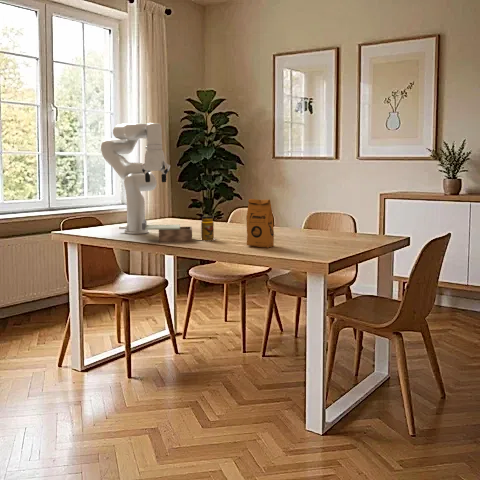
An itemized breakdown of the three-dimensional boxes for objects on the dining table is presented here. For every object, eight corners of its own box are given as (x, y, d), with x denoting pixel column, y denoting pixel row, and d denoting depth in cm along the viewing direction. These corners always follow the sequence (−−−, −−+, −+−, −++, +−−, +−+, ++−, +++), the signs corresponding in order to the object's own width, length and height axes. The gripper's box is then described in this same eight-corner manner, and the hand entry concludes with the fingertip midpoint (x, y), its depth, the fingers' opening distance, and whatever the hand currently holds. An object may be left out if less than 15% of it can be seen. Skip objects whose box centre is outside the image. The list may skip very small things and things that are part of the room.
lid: (142, 229, 300) (141, 223, 299) (143, 226, 312) (143, 220, 312) (180, 229, 302) (180, 222, 301) (180, 226, 314) (179, 219, 313)
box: (158, 242, 302) (158, 230, 301) (159, 238, 314) (159, 227, 313) (192, 241, 303) (192, 229, 302) (191, 238, 315) (191, 226, 314)
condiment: (211, 241, 305) (211, 217, 304) (195, 240, 308) (195, 216, 306) (216, 239, 312) (216, 215, 310) (200, 238, 315) (200, 215, 313)
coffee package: (267, 249, 281) (268, 200, 278) (243, 247, 287) (243, 199, 284) (277, 246, 290) (277, 198, 287) (253, 244, 296) (253, 197, 293)
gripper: (136, 148, 315) (137, 182, 317) (165, 147, 308) (166, 182, 310) (144, 148, 322) (145, 181, 324) (173, 147, 314) (174, 181, 317)
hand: (155, 182), depth 317 cm, fingers open, 9 cm apart
